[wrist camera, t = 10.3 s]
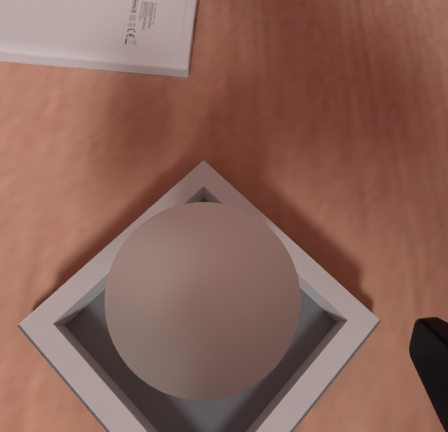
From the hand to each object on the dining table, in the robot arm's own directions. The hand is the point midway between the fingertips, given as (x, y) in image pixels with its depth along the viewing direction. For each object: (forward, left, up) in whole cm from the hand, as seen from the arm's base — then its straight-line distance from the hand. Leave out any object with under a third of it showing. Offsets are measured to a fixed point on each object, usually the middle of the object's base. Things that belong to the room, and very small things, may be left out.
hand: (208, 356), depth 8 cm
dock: (+1, -1, -11) cm, 11 cm away
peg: (+1, -1, -10) cm, 10 cm away
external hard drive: (+19, -10, -12) cm, 25 cm away
